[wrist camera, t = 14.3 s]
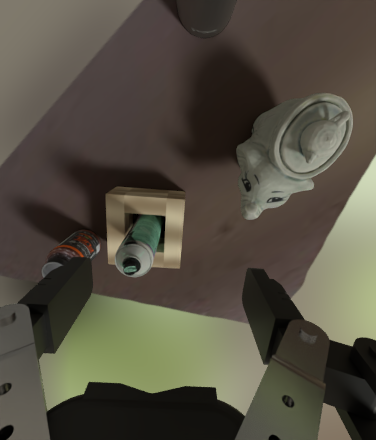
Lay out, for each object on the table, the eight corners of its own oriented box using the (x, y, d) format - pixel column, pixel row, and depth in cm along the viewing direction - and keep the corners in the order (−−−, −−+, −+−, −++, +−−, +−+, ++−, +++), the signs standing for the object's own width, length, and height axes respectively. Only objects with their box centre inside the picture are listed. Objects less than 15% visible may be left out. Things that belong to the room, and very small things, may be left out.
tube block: (116, 186, 46) (105, 193, 40) (185, 191, 47) (185, 199, 40) (118, 248, 51) (108, 264, 44) (180, 252, 51) (179, 268, 45)
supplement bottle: (107, 238, 50) (82, 269, 38) (93, 261, 52) (65, 297, 40) (79, 222, 49) (43, 249, 37) (66, 246, 51) (28, 279, 38)
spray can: (133, 217, 48) (99, 265, 30) (153, 203, 48) (132, 244, 29) (148, 236, 50) (125, 294, 31) (168, 223, 49) (158, 275, 30)
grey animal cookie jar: (229, 202, 48) (256, 238, 30) (209, 129, 43) (225, 120, 25) (307, 177, 46) (384, 199, 28) (295, 98, 41) (377, 66, 24)
